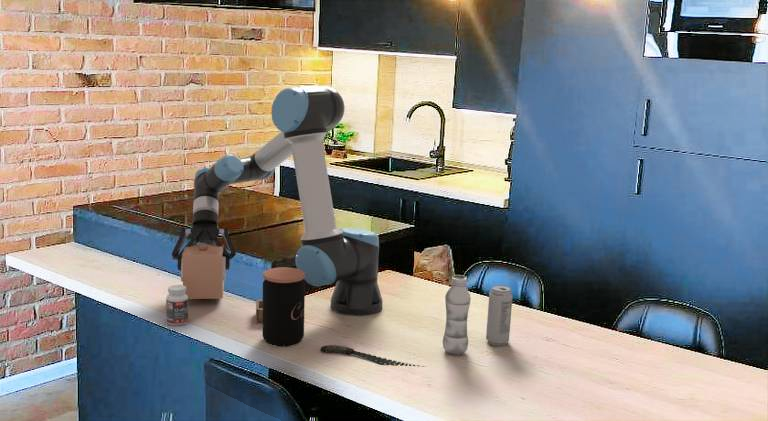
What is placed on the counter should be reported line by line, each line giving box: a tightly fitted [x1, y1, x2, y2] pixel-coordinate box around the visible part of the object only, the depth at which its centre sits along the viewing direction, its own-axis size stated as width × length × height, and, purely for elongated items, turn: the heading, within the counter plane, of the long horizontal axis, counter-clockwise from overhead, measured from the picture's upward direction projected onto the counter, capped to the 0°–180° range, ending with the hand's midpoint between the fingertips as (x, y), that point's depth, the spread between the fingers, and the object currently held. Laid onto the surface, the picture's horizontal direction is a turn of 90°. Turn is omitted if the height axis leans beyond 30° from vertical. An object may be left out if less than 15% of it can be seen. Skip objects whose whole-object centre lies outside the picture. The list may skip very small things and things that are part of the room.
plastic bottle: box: [442, 274, 472, 356], centre depth 202 cm, size 6×7×20 cm
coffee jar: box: [261, 266, 306, 347], centre depth 206 cm, size 11×11×18 cm
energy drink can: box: [485, 284, 513, 347], centre depth 210 cm, size 6×6×15 cm
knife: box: [320, 344, 427, 368], centre depth 197 cm, size 28×2×5 cm
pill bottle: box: [165, 284, 189, 326], centre depth 216 cm, size 6×6×10 cm
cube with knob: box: [182, 242, 225, 300], centre depth 233 cm, size 11×11×15 cm
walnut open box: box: [255, 299, 263, 324], centre depth 222 cm, size 10×8×4 cm
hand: (203, 279), depth 231 cm, fingers closed on cube with knob, 11 cm apart
